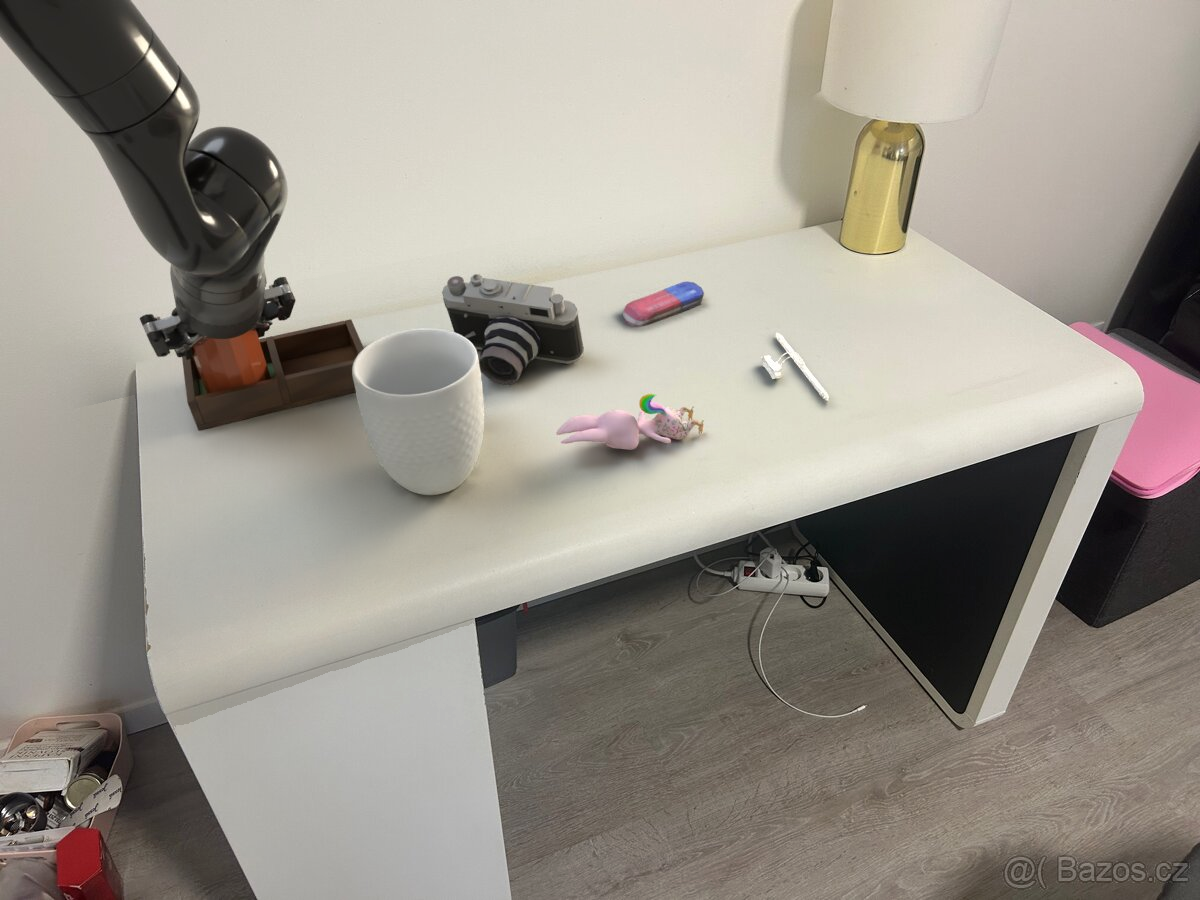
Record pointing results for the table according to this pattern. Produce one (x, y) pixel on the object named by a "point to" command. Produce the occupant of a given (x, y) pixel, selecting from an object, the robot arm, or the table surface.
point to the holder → (282, 376)
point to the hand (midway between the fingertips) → (221, 339)
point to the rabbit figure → (630, 426)
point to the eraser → (663, 304)
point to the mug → (422, 407)
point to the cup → (231, 362)
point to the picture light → (775, 367)
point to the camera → (513, 324)
